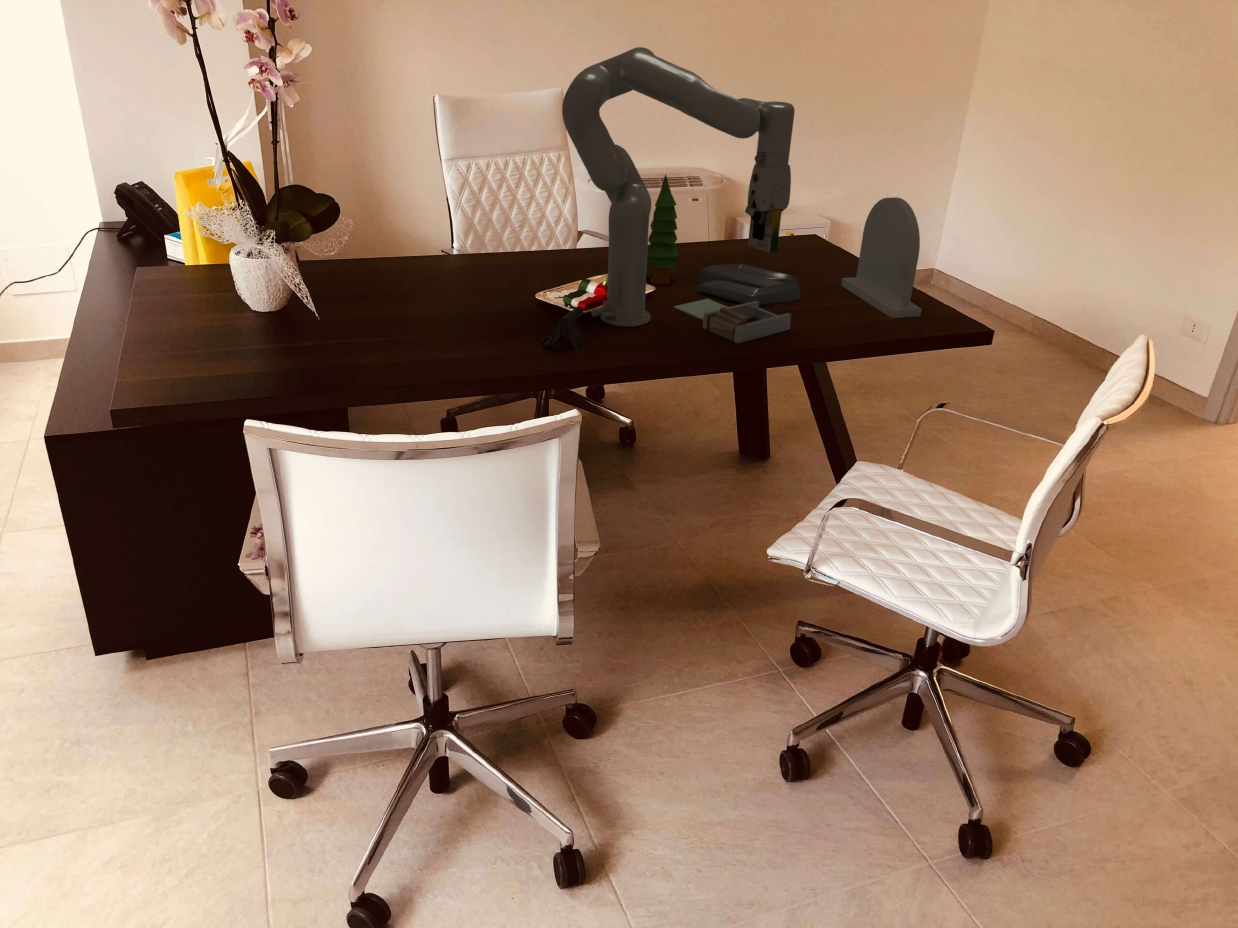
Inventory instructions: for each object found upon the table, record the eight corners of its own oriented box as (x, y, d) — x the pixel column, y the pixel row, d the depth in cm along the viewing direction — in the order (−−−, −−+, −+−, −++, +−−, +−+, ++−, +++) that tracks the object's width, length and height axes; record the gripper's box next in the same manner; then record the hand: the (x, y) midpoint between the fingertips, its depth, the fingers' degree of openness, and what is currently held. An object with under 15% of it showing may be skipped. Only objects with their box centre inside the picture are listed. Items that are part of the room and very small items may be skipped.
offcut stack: (731, 341, 233) (733, 319, 231) (709, 331, 239) (711, 310, 236) (745, 337, 236) (747, 316, 233) (722, 328, 241) (724, 307, 239)
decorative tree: (648, 286, 268) (654, 176, 254) (638, 276, 276) (643, 169, 262) (681, 285, 271) (688, 175, 257) (671, 275, 279) (677, 168, 265)
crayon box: (777, 251, 231) (783, 202, 226) (769, 253, 230) (774, 204, 224) (755, 244, 236) (760, 196, 231) (747, 246, 235) (752, 197, 229)
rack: (737, 343, 231) (738, 328, 230) (702, 328, 240) (703, 313, 238) (789, 329, 241) (791, 314, 239) (754, 315, 250) (755, 300, 248)
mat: (704, 321, 245) (704, 319, 245) (673, 307, 253) (673, 306, 253) (738, 312, 251) (738, 311, 251) (707, 300, 260) (707, 298, 260)
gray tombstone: (921, 316, 254) (942, 211, 241) (892, 318, 252) (911, 212, 239) (868, 284, 278) (884, 186, 265) (840, 286, 275) (855, 187, 262)
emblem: (696, 285, 254) (700, 256, 279) (695, 305, 257) (698, 274, 281) (804, 292, 252) (797, 262, 277) (801, 312, 255) (795, 281, 279)
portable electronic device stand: (557, 336, 232) (557, 302, 228) (587, 341, 230) (588, 307, 226) (541, 348, 225) (541, 314, 221) (572, 354, 222) (572, 319, 218)
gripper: (758, 165, 216) (749, 246, 225) (808, 159, 225) (798, 237, 234) (735, 159, 221) (727, 238, 230) (785, 153, 230) (775, 230, 239)
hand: (763, 237), depth 232 cm, fingers closed on crayon box, 3 cm apart
